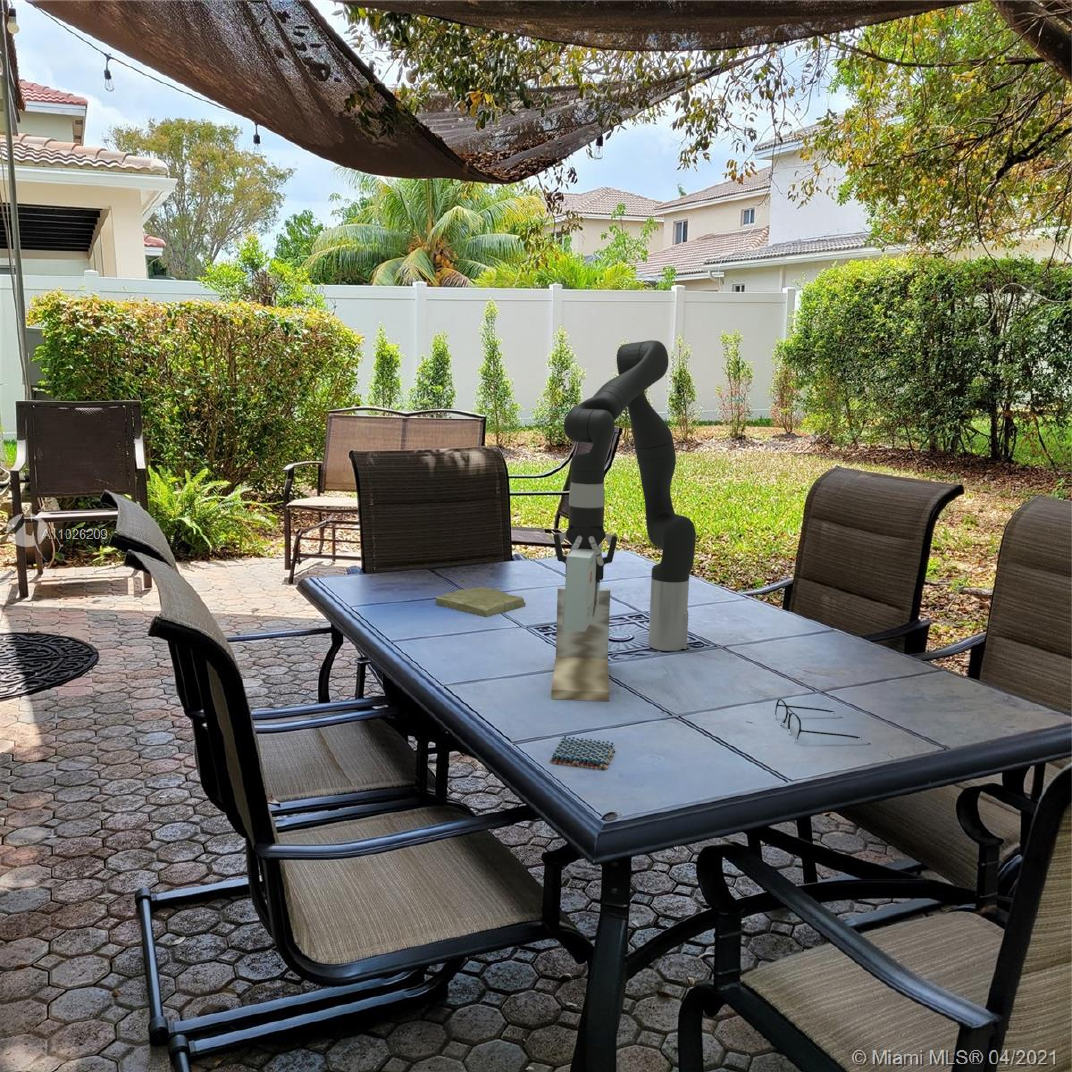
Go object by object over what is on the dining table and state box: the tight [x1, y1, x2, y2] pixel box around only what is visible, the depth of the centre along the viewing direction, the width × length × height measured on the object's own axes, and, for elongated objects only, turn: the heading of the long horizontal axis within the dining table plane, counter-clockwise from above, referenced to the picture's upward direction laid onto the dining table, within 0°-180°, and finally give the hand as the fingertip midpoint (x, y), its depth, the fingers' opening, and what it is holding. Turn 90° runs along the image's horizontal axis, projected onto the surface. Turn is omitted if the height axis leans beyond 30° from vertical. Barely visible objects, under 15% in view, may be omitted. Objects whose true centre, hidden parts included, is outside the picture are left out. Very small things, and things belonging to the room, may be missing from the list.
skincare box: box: [562, 541, 603, 632], centre depth 213 cm, size 21×5×16 cm, turn 169°
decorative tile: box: [435, 586, 527, 618], centre depth 283 cm, size 19×20×4 cm
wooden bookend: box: [550, 587, 611, 702], centre depth 216 cm, size 12×25×18 cm, turn 177°
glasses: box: [774, 698, 860, 740], centre depth 191 cm, size 14×15×5 cm
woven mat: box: [548, 735, 616, 770], centre depth 176 cm, size 10×11×2 cm
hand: (584, 581), depth 213 cm, fingers closed on skincare box, 5 cm apart
